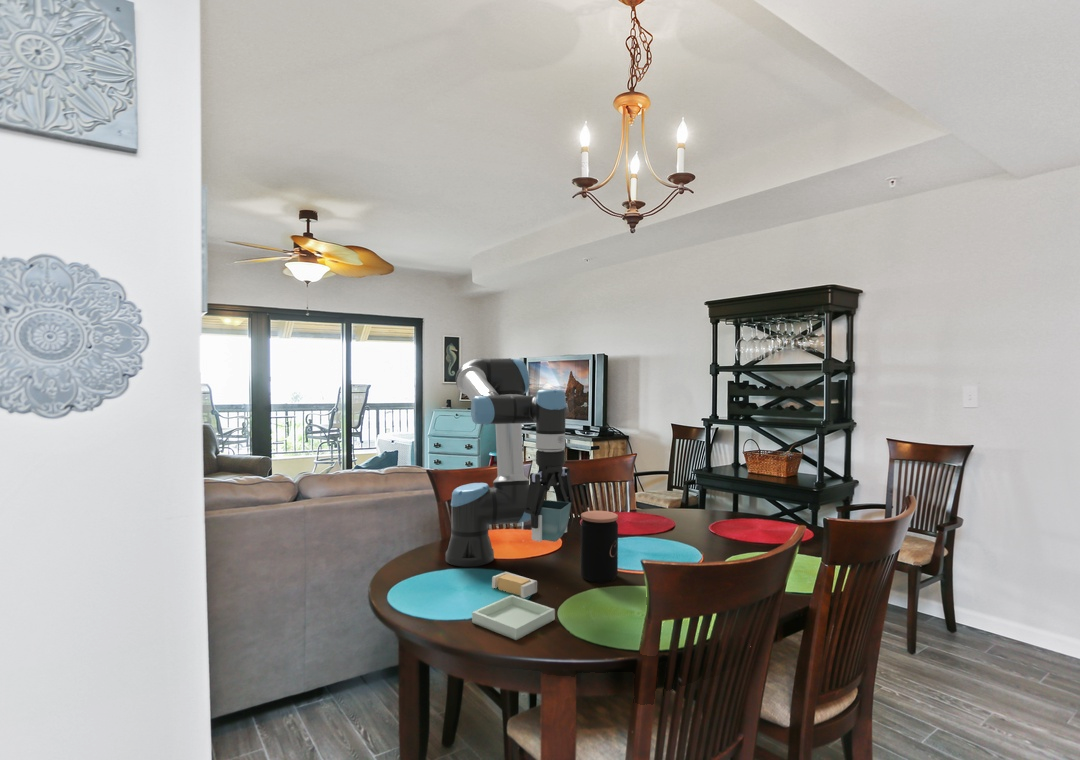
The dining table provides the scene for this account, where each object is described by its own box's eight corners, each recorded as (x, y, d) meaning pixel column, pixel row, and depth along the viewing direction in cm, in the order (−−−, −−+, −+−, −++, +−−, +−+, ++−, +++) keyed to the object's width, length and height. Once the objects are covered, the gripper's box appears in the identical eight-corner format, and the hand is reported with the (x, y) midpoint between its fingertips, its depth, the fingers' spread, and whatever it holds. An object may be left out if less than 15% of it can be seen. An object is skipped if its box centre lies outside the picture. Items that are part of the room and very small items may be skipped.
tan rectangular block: (498, 590, 154) (498, 577, 154) (506, 586, 157) (506, 573, 157) (522, 596, 150) (522, 583, 150) (529, 592, 153) (529, 579, 153)
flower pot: (571, 535, 150) (571, 501, 149) (561, 545, 141) (561, 509, 141) (539, 532, 153) (540, 499, 152) (528, 541, 144) (528, 506, 144)
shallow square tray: (472, 622, 133) (472, 612, 133) (511, 604, 144) (511, 594, 144) (516, 640, 125) (516, 628, 125) (554, 619, 135) (554, 609, 135)
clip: (492, 587, 156) (492, 576, 156) (505, 582, 160) (505, 571, 160) (523, 598, 148) (523, 586, 148) (537, 592, 153) (537, 581, 153)
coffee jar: (616, 585, 158) (616, 520, 158) (578, 582, 160) (578, 518, 160) (618, 572, 169) (619, 511, 169) (582, 569, 171) (583, 509, 171)
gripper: (533, 455, 135) (532, 549, 136) (587, 446, 153) (586, 529, 153) (510, 452, 140) (509, 542, 140) (565, 444, 157) (564, 524, 158)
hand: (549, 535), depth 147 cm, fingers closed on flower pot, 10 cm apart
